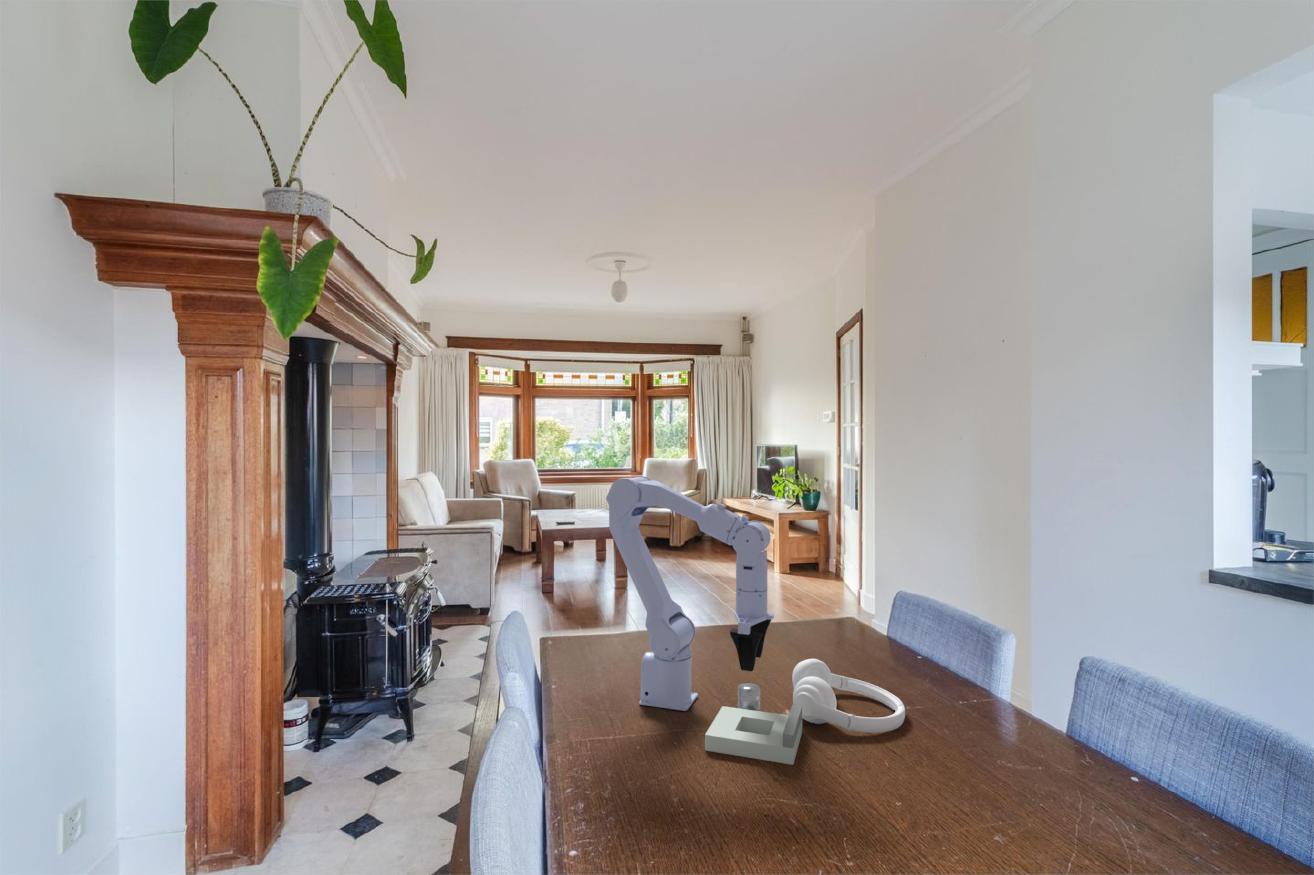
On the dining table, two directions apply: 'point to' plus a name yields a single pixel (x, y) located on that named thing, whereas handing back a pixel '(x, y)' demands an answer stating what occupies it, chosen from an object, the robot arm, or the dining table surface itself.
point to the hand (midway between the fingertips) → (751, 663)
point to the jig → (771, 746)
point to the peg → (749, 696)
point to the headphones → (821, 703)
